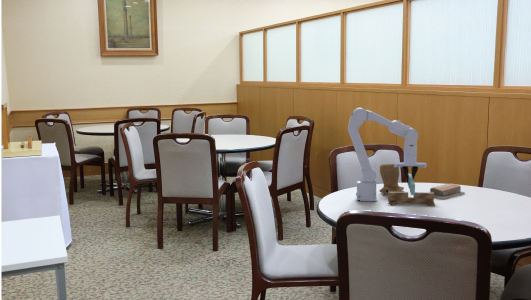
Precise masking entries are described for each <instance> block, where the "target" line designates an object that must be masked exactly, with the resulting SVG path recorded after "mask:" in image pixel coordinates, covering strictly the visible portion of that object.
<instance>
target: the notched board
mask: <svg viewBox="0 0 531 300" xmlns="http://www.w3.org/2000/svg"><path fill="white" fill-rule="evenodd" d="M387 197H388V198H387V202H389V203H388V205H389V204H393V205H392V206H396V205H397V204H411V205H414V204H418V205H427V206H428V207H435V206H436V203H435V198H434V193H428V192H427V191H426V192H421V191H418V192H417V191H415V195H413V196H412V197H411V196H410V197H409V191H401V192H388V195H387Z"/></svg>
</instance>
